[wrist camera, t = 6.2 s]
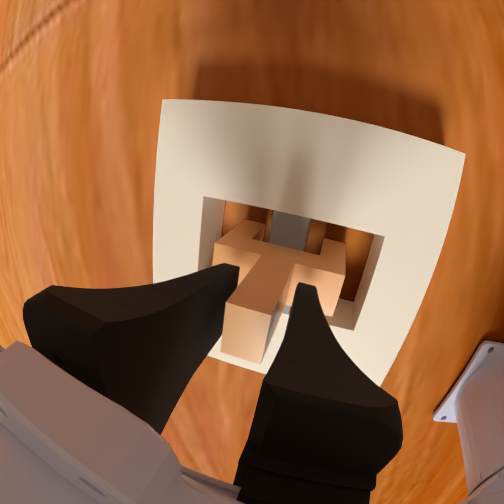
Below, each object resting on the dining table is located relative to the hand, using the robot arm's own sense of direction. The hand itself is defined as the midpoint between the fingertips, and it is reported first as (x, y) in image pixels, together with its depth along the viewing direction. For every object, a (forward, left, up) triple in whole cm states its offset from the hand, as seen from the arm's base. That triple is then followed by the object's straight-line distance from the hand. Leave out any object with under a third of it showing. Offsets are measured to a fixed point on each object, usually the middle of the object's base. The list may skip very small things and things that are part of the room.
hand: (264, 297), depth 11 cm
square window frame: (0, 0, -6) cm, 6 cm away
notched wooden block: (0, 0, -6) cm, 6 cm away
